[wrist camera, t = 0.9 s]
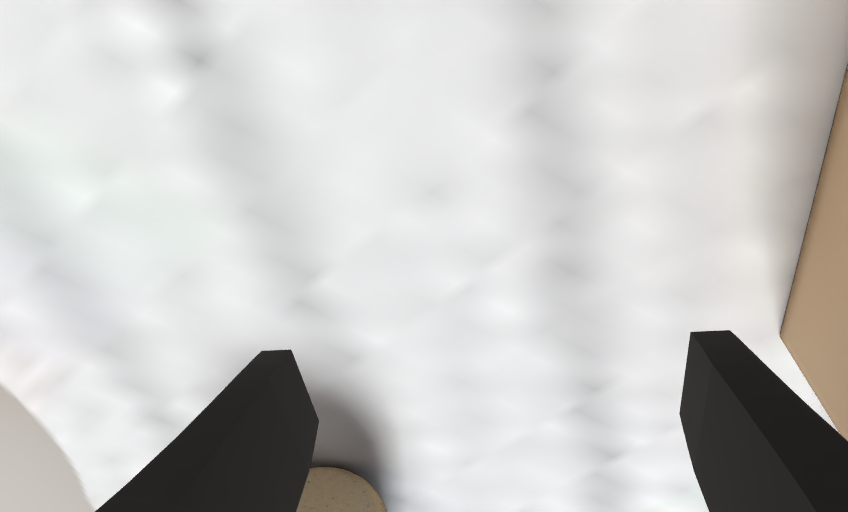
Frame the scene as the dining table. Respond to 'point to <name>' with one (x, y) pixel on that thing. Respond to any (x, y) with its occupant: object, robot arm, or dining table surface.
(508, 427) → the dining table surface
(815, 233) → the carton
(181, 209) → the dining table surface
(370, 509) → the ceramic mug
